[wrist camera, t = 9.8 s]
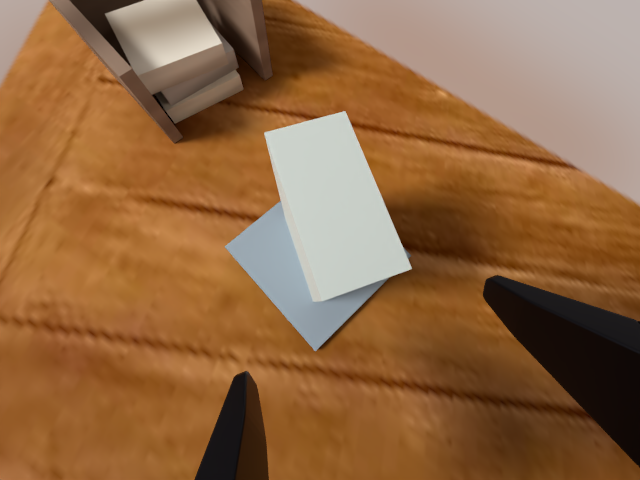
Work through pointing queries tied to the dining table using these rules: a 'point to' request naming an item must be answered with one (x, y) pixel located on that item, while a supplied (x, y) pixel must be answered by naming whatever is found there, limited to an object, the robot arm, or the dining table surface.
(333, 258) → the pale grey rectangular block
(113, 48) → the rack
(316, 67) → the dining table surface
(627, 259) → the dining table surface
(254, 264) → the mat
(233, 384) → the robot arm
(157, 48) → the offcut stack
